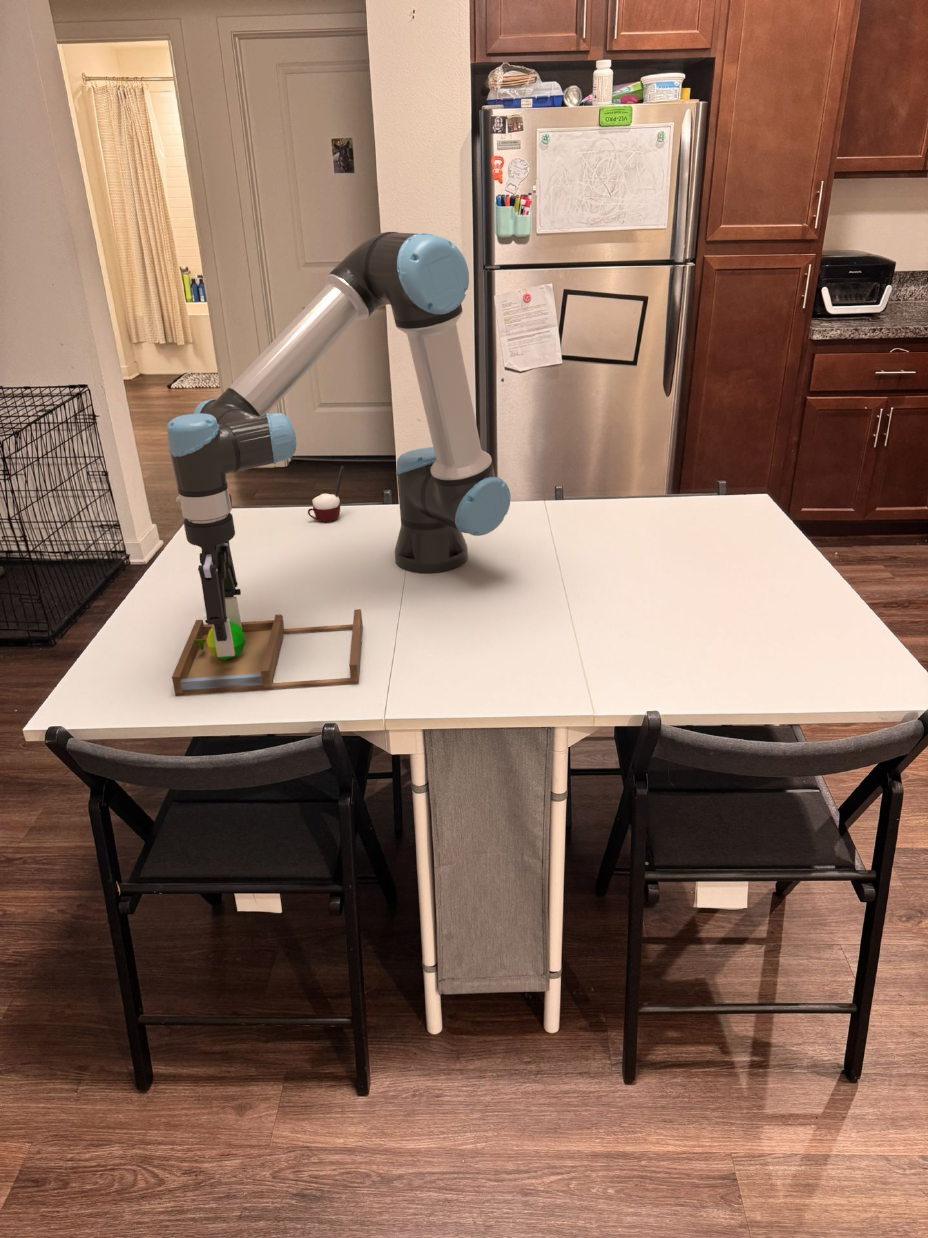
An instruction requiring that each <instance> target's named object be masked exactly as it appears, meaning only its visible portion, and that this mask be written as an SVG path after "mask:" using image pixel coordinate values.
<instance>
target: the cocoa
mask: <svg viewBox="0 0 928 1238" xmlns="http://www.w3.org/2000/svg"><path fill="white" fill-rule="evenodd" d="M344 471H345V467H344V466H343V465H341V466H340V469H339V473H338V477H337V481H336V486H335V489H334V493H332V494H329V493H321V494H320V495H318V496H316V497H314V498H313V499H312V508H309V509H307V514H308V516H309V517H311V518H312V519H314V520H317V521H319V522H321V523H331V522H334V521H336V520H338V518H339V516H340V512H341V503H340V501H341V500H340V498H339V491H340V487H341V483H342V479H343V475H344ZM311 511H313V512H314V515H315V516H314V515H312V514H311Z"/></svg>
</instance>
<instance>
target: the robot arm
mask: <svg viewBox="0 0 928 1238" xmlns="http://www.w3.org/2000/svg"><path fill="white" fill-rule="evenodd" d="M469 284H470V272H469V268H468V263H467V261H466V259H465V257H464V254H463V253H462V252H461V250H460V249H459V247H458V246H457V245H456V244H455V243H453V242H451V240H448V239H447V238H445V237H442V236H438V235H434V234H432V233H424V232H423V233H412V232H410V233H408V232H397V231H384V232H380V233H378V234H375V235H373V236H371V237H369V238H368V239H366V240H364V241H363V242H361V243H360V244H359V245H358V246H357V247H356V248H354V249H353V250H352V251H351V252H350V253H348V254H347V255H346V256H345V257H344V259H343V258H342V260H341V261H340V262H339V263H338V264H337V265H336V266H335V268H333V270H332V271H330V273H329V274H327V275H326V277H325V286H324V288H322V290H320V291H319V293H317V295H316V296H315V297H314V298H313V299H312V300H311V301H310V302H309V304H307V305H306V306H305V308H303V309H302V311H301V312H300V313H299V314H298V315H296V317H295V318H294V319H293V320H292V321H291V322H290V323H289V324H288V325H287V326H286V327H285V329H283V330H282V331H281V333H279V334H278V336H276V337H275V338H274V340H273V341H272V342H271V343H270V344H269V345H268V346H267V347H266V348H265V349H264V350H263V351H262V352H261V353H260V355H258V356H257V358H256V359H254V361H253V362H251V363H250V364H249V366H248V367H246V369H245V370H244V371H242V373H240V375H239V376H238V377H237V378H236V379H235V380H234V381H233V383H231V384H230V385H229V387H228V388H227V389H226V390H225V391H224V392H222V394H221V395H219V397H218V398H213V399H211V398H209V399H206V400H204V401H202V402H200V403H199V404H198V405H197V406H196V408H195V409H194V411H193V412H192V413H189V414H183V415H179V416H177V417H174V418H173V419H171V420H170V421H169V422H168V424H167V426H166V432H167V433H166V434H167V443H168V453H169V454H170V459H171V464H172V468H173V472H174V478H175V483H176V486H177V487H176V488H177V493H178V496H176V499H175V501H176V503H180V509H181V513H182V514H181V515H182V516H183V518H184V519H183V526H184V531H185V536H186V540H187V541H186V542H188V543H189V544H190V545H192V546H196V547H198V548H200V549H201V553H199V562H200V565H198V568H197V571H198V573H199V578H200V582H201V588H202V595H203V601H204V607H205V609H204V610H205V615H206V619H205V620H204V622H205V624H208V625H211V624H212V629H213V635H214V640H215V645H216V651H217V656H218V657H225V656H234V655H235V651H234V645H233V640H232V634H231V628H230V623H229V622H231V623H234V624H236V625H238V626H240V627H241V628H242V626H241V622H242V621H241V613H240V608H239V604H238V598H237V597H238V596H241V594H242V593H241V592H242V591H241V588H238V579H237V576H236V571H235V566H234V561H233V557H232V551H231V546H230V541H231V540H232V539H233V538H234V537H235V535H236V530H235V522H234V518H233V514H232V513H231V511H232V503H231V497H230V492H229V491H230V490H229V487H228V481H227V475H228V474H231V473H232V474H233V473H237V472H241V471H245V470H249V469H254V468H258V467H262V466H267V465H271V464H272V465H273V464H274V465H276V463H279V462H283V461H286V460H288V459H291V458H292V457H293V456H294V455H295V453H296V449H297V436H296V432H295V428H294V425H293V424H292V422H291V420H290V418H289V417H288V416H287V415H285V414H284V413H281V412H275V413H270V412H271V411H272V409H274V407H275V406H276V405H277V404H279V402H280V401H281V400H282V399H283V398H284V397H285V396H286V395H287V394H288V393H289V392H290V391H291V390H292V389H293V388H294V387H295V386H296V385H297V383H298V382H299V381H300V380H301V379H303V378H304V376H305V375H307V373H308V372H309V371H310V370H311V369H312V368H313V367H314V365H316V363H317V362H318V361H319V360H320V359H321V358H322V357H323V356H324V355H325V354H326V353H327V352H328V351H329V350H330V349H331V348H332V347H333V346H334V345H335V344H336V343H337V342H338V340H339V339H341V337H342V336H343V335H344V334H345V333H346V332H347V331H348V330H349V329H350V328H351V327H352V326H353V325H354V323H356V322H357V321H358V320H360V321H361V320H363V321H364V320H367V319H368V318H369V317H371V315H372V314H373V313H374V312H375V311H376V310H378V309H380V308H381V307H384V306H387V305H390V306H391V307H390V308H391V311H392V315H393V319H394V323H395V327H396V328H397V330H400V331H401V332H402V333H403V334H406V337H407V340H408V343H409V344H408V345H409V347H410V353H411V356H412V357H411V358H412V361H413V365H414V370H415V373H416V378H417V383H418V388H419V391H420V396H421V400H422V404H423V405H422V406H423V410H424V414H425V417H426V421H427V426H428V430H429V434H430V438H431V443H432V447H423V448H417V449H413V450H409V451H406V452H404V453H402V454H400V456H399V457H398V458H397V460H396V473H395V475H396V477H397V488H398V490H397V491H398V502H399V503H398V505H399V514H400V516H399V517H400V528H399V533H398V536H397V540H396V543H395V548H394V559H395V560H394V561H395V564H396V565H397V566H398V567H399V568H401V569H404V570H406V571H409V572H413V573H425V574H426V573H430V574H431V573H440V572H446V571H449V570H452V569H456V568H458V567H460V566H462V565H463V564H464V563H466V562H467V560H468V558H469V557H468V556H469V555H468V554H469V553H468V545H467V542H466V540H465V537H464V535H463V534H469V535H470V536H475V537H479V536H485V535H489V534H490V533H492V532H493V531H494V530H496V529H497V528H498V527H500V525H501V524H502V523H503V521H504V519H505V517H506V515H507V514H508V512H509V509H510V505H511V491H510V490H511V489H510V488H509V485H508V484H507V483H506V482H505V481H504V480H503V479H502V478H500V477H498V476H497V477H496V473H495V469H494V465H493V459H492V456H491V455H490V453H488V452H487V451H484V450H483V449H482V447H481V440H480V436H479V431H478V426H477V421H476V416H475V411H474V405H473V401H472V396H471V391H470V386H469V381H468V376H467V371H466V366H465V362H464V356H463V351H462V347H461V342H460V336H459V332H458V327H457V322H458V320H459V319H460V318H461V315H462V314H463V306H462V303H463V301H464V300H465V299H466V291H468V290H469Z"/></svg>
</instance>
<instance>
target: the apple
mask: <svg viewBox="0 0 928 1238" xmlns="http://www.w3.org/2000/svg"><path fill="white" fill-rule="evenodd" d="M229 623H230V628H231V634H232V640H233V645H234V651H235V655H234V656H225V657H218V656H217V651H216V645H215V640H214V635H213V629H212V628H211V630H210V631H209V633H208V636H207V639H193V640H194V642H195V643H199V642H201V643H200V644H199V645H198V648H200V649H202V650H203V649H204V642H205V641H207V644H208V647H209V650H210V652H211V654H212V655H214V656H216V657H218V658H221V659H223V660H227V659H230V658H233V657H235V656H238V655H240V653H241V651H242V650H243V648H244V645H245V642H246V640H245V637H244V634H243V631H242V628H241V627H240V626H238V625H236V624H234V623H231V622H229Z"/></svg>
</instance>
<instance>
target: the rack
mask: <svg viewBox="0 0 928 1238" xmlns="http://www.w3.org/2000/svg"><path fill="white" fill-rule="evenodd" d="M283 617H284V615H283V614H275V615H274V619H270V620H269V619H266V620H253V621H252V620H251V621H241V626H242V631H243V634H244V637H245V640H246V642H245V645H244V648H243V650H242V651H241V653H240V655H238V656H235V657H233V658H230V659H227V660H223V659H221V658H218V657H216V656H214V655H212V654H211V652H210V650H209V647H208V644H207V641H205V642H204V649H203V650H202V649H200V648H198V645H199V644H200V643H201V642H199V643H195V642H194V640H193V639H207V636H208V633H209V631H210V630H211V628H212V624H211V625H208V624H207V623H204V619H195V622H194V624H193V626H192V628H191V631H190V634H189V636H188V638H187V641H186V643H185V645H184V648H183V650H182V652H181V655H180V657H179V658H178V662H177V663H176V666H175V669H174V671H173V673H172V676H171V679H172V685H173V690H174V694H175V697H181V696H182V697H183V696H195V695H210V694H211V695H212V694H225V693H241V692H242V693H243V692H254V691H256V692H257V691H267V690H268V691H269V690H281V689H282V690H283V689H298V688H311V687H314V688H315V687H327V686H328V687H329V686H342V685H344V686H345V685H357V684H360V674H361V673H360V672H361V671H360V670H361V659H362V658H361V657H362V643H363V640H362V639H363V628H364V627H363V614H362V609H357V608H356V609H354V610H353V620H352V621H353V622H352V624H349V623H348V624H338V625H337V624H336V625H335V624H334V625H324V626H323V625H322V626H321V625H319V626H305V627H294V628H291V627H290V628H285V625H284V618H283ZM338 631H352V632H351V639H350V640H351V643H350V654H349V662H348V663H349V666H348V667H349V676H350V677H343V678H342V677H341V678H329V679H328V678H327V679H315V680H314V679H313V680H299V681H285V682H284V681H282V682H274V680H275V676H276V671H277V667H278V663H279V660H280V659H279V658H280V654H281V649H282V646H283V645H282V644H283V640H284V636H285V635H293V634H295V635H296V634H306V633H307V634H308V633H309V634H311V633H324V632H338Z"/></svg>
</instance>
